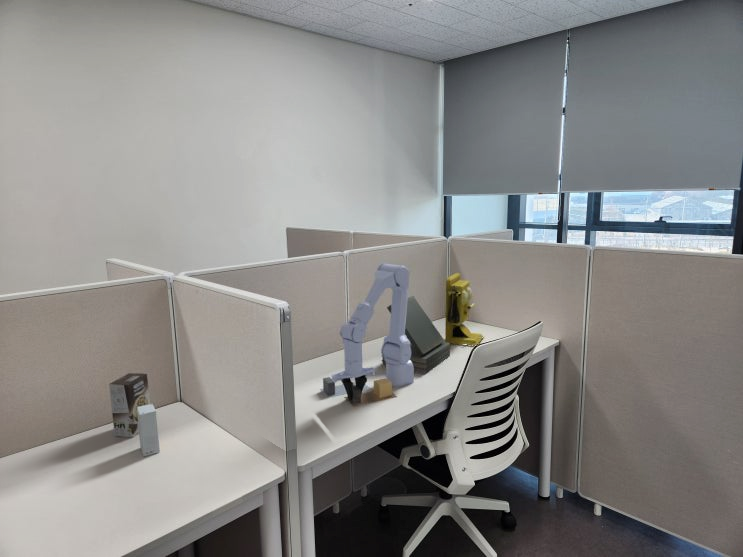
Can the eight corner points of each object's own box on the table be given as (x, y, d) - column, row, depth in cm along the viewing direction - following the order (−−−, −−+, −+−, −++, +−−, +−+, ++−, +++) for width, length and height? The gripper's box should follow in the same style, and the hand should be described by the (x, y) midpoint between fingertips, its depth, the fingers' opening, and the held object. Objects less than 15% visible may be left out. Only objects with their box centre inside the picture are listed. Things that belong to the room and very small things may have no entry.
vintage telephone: (471, 353, 208) (473, 284, 202) (439, 349, 213) (440, 282, 208) (487, 333, 235) (489, 272, 230) (459, 330, 241) (460, 270, 236)
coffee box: (133, 438, 141) (127, 385, 138) (113, 436, 142) (107, 383, 139) (153, 423, 149) (148, 373, 147) (134, 421, 151) (128, 372, 148)
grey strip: (361, 383, 177) (361, 369, 176) (371, 391, 170) (370, 376, 169) (319, 391, 170) (319, 377, 169) (327, 400, 163) (327, 385, 162)
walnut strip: (386, 390, 170) (386, 376, 169) (397, 399, 163) (397, 384, 162) (344, 399, 164) (343, 384, 163) (353, 409, 157) (353, 393, 156)
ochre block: (385, 390, 168) (385, 378, 167) (391, 395, 164) (391, 382, 163) (373, 393, 166) (373, 380, 165) (379, 398, 162) (379, 385, 161)
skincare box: (160, 452, 133) (156, 411, 130) (143, 457, 130) (138, 415, 128) (156, 442, 138) (152, 403, 136) (140, 447, 135) (135, 406, 133)
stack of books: (425, 375, 186) (425, 311, 181) (381, 365, 196) (380, 305, 191) (450, 357, 204) (450, 299, 200) (408, 349, 215) (408, 294, 210)
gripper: (368, 351, 165) (369, 389, 167) (327, 358, 159) (329, 398, 161) (377, 358, 159) (378, 397, 161) (335, 365, 152) (337, 406, 155)
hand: (354, 398), depth 161 cm, fingers closed on walnut strip, 2 cm apart
